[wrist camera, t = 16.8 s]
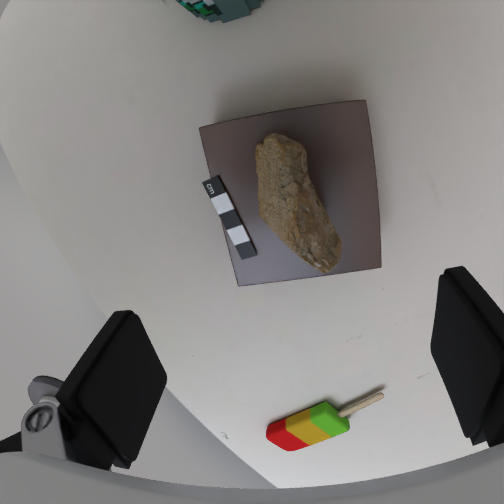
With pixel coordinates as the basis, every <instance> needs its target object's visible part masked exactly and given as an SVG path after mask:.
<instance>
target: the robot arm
mask: <svg viewBox="0 0 504 504" xmlns="http://www.w3.org/2000/svg"><path fill="white" fill-rule="evenodd" d="M431 354H432V356H433V359H434V361H435V363H436V365H437V368H438V370H439V372H440V375H441V377H442V379H443V382H444V384H445V387H446V389H447V391H448V394H449V396H450V399H451V401H452V404H453V406H454V409H455V412H456V414H457V417H458V420H459V422H460V425H461V428H462V431H463V433H464V436H465V437H466V438H469V437H470V439H471V442H472V445H473V446H474V445H477V444H479V443H482V442H485V441H487V443H488V446H489V447H490V448H488V449H485V450H483V451H480V452H477V453H474V454H471V455H468V456H465V457H462V458H459V459H456V460H452V461H449V462H446V463H442V464H438V465H435V466H431V467H427V468H424V469H420V470H416V471H412V472H407V473H403V474H398V475H394V476H389V477H384V478H378V479H372V480H366V481H360V482H353V483H346V484H337V485H328V486H317V487H304V488H283V489H240V488H219V487H206V486H205V487H204V486H194V485H186V484H177V483H169V482H163V481H156V480H150V479H144V478H139V477H133V476H129V475H124V474H119V473H115V472H112V471H111V465H112V464H113V465H114V466H116V467H120V468H125V469H129V468H130V466H131V463H132V462H133V461H135V460H136V458H137V456H138V454H139V450H140V448H141V446H142V443H143V441H144V438H145V435H146V433H147V430H148V428H149V425H150V423H151V420H152V418H153V415H154V413H155V410H156V408H157V405H158V403H159V400H160V398H161V395H162V393H163V390H164V388H165V385H166V383H167V375H166V372H165V370H164V368H163V366H162V364H161V362H160V360H159V358H158V356H157V354H156V352H155V350H154V348H153V346H152V344H151V341H150V339H149V337H148V335H147V333H146V331H145V329H144V326H143V324H142V322H141V320H140V318H139V316H138V315H137V314H135V313H134V312H133V311H131V310H124V311H115V312H114V313H113V314H112V315H111V317H110V318H109V319H108V321H107V322H106V324H105V325H104V326H103V328H102V329H101V330H100V332H99V333H98V334H97V336H96V337H95V338H94V340H93V341H92V343H91V344H90V345H89V347H88V348H87V350H86V351H85V352H84V354H83V355H82V357H81V358H80V360H79V361H78V362H77V364H76V366H75V367H74V368H73V370H72V371H71V373H70V374H69V375H68V377H67V378H66V380H65V381H64V383H63V384H62V386H61V387H60V389H59V390H58V392H57V393H56V395H55V396H54V397H52V396H43V397H42V398H41V400H40V401H39V403H37V404H35V405H34V406H32V407H31V408H30V409H29V410H28V411H27V412H26V413H25V415H24V417H23V419H22V423H21V431H20V432H18V433H16V434H14V435H12V436H10V437H8V438H6V439H4V440H2V441H0V504H504V313H503V312H502V311H501V309H500V308H499V307H498V306H497V304H496V303H495V302H494V301H493V300H492V298H491V297H490V296H489V295H488V294H487V292H486V291H485V290H484V289H483V288H482V286H481V285H480V284H479V283H478V282H477V281H476V280H475V278H474V277H473V276H472V275H471V274H470V273H469V272H468V271H467V269H466V268H465V267H463V266H458V267H453V268H448V269H445V271H444V274H442V275H440V277H439V283H438V293H437V303H436V311H435V318H434V326H433V332H432V338H431Z"/></svg>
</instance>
